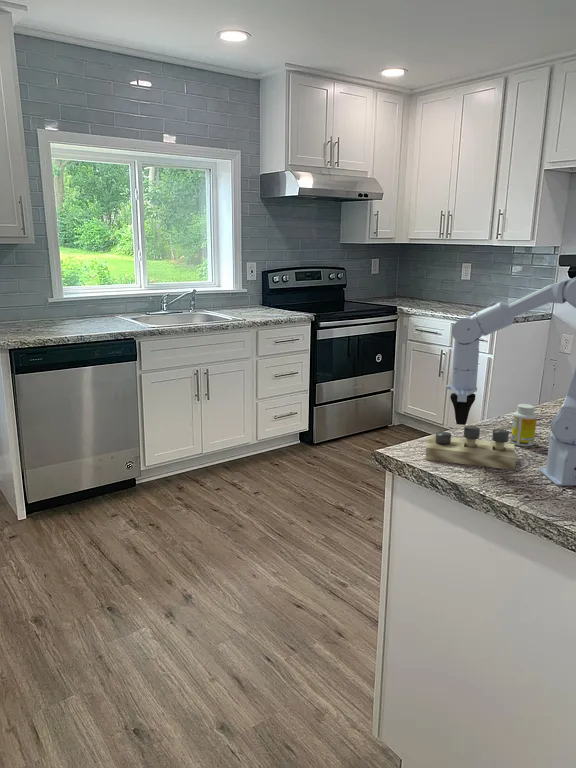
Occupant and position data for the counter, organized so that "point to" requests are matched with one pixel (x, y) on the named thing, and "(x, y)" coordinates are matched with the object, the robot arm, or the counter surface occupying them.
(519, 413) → the supplement bottle
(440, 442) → the knob far
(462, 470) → the counter surface
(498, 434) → the knob near
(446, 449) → the knob mount
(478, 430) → the knob middle
